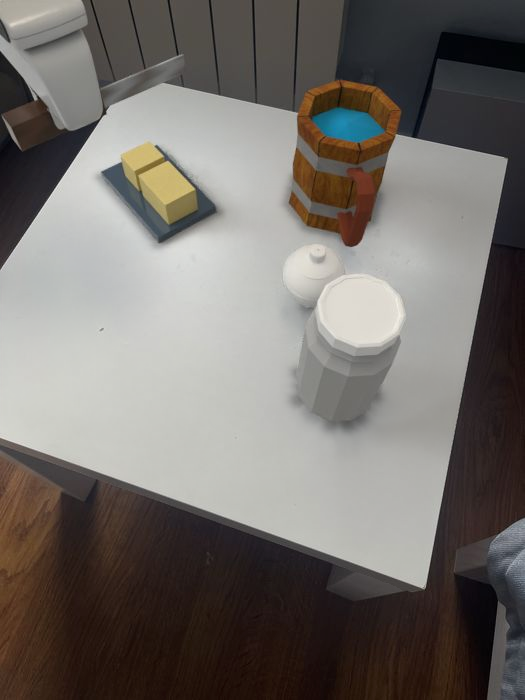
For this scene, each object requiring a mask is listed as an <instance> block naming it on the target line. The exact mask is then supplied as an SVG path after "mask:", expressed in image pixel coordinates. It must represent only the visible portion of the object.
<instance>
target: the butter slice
mask: <svg viewBox="0 0 525 700" xmlns="http://www.w3.org/2000/svg"><path fill="white" fill-rule="evenodd" d="M119 156H120V157H119V158H120V160H121V161H120V162H122V165H123V168H124V172H125V176H126V177H127V178H128V179H129V181H130V182H131V183H132V184H133V185H134V186H135V187H136V188H137V190H138V191H142V189H141V185H140V180H139V176H138V175H140V174H142V173H144V172H146V171H148V170H150V169H152V168H154V167H156V166H158V165H160V164H162V163H164V162H165V159H164V156H163V155H162V154H161V153H160V152H159V151H158V150H157V149H156V147H155V145H154V144H153V143H152V142H151V141H150V140H149V141H146V142H144V143H143V144H140V145H138V146H136V147H134V148H133V149H129V150H128V151H126V152H123V153H121V154H120V155H119Z"/></svg>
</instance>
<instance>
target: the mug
mask: <svg viewBox="0 0 525 700" xmlns="http://www.w3.org/2000/svg"><path fill="white" fill-rule="evenodd" d="M401 114H402V109H401V108H400V107H399V105H397V104H396V103H394V101H393V100H392V99H390V97H389V96H388V95H387V94H385V92H384V91H383V90H382V89H380V87H378V86H374V85H369V84H364V83H359V82H355V81H354V82H353V81H348V80H343V79H337V80H334V81H331V82H329V83H326V84H323V85H320V86H317V87H315V88H312V89H308V90H306V91H305V94H304V97H303V99H302V101H301V105H300V108H299V110H298V113H297V115H296V126H297V135H296V144H295V145H296V146H295V152H294V156H293V162H292V186H291V193H290V196H289V200H288V203H289V205H290V206H291V207H292V209H293V210H294V211H295V213H296V214H297V215H298V217H299V218H300V219H301V221H302V222H303V223H304V224H305V225H306V227H309V228H310V227H311V228H314V229H319V230H323V231H327V232H332V233H336V234H340V240H341V241H342V243H343V245H344V246H345V247H347V248H352V247H357V246H358V245H359V244H360V243H362V240H363V239H364V235H365V233H366V230H367V226H368V223H369V222H371V221H372V218H373V213H374V208H375V205H376V200H377V195H378V192H379V190H380V188H381V186H382V183H383V179H384V175H385V170H386V166H387V162H388V157H389V152H390V150H391V148H392V146H393V144H394V141H395V139H396V136H397V131H398V127H399V124H400V119H401Z"/></svg>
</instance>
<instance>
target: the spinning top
mask: <svg viewBox="0 0 525 700" xmlns="http://www.w3.org/2000/svg"><path fill="white" fill-rule="evenodd" d="M281 273H282V274H281V275H282V283H283V286H284V288H285V290H286V292H287V293H288V295H289V296H290V297H291V298H292V299H293V301H295V302H296V303H297V304H299V305H300V306H303V307H305V308H307V309H309V308H315V307H316V306H317V301H318V299H319V298H320V296H321V294H322V292H323V290H324V288H325V286H326V285H327V284H328V283H330V282H332V281H333V280H335V279H337V278H339V277H340V276H342V275H346V268H345V264H344V262H343V260H342V259H341V257H340V256H339V254H337V253H336V251H334V250H333V249H331V248H329V247H328V246H326V245H323V244H320V243H313V244H307V245H303V246H301V247H298V248H297V249H295V250H294V251H293V252H291V254H289V256H288V257H287V259H286V260H285V262H284V263H283V268H282V272H281Z"/></svg>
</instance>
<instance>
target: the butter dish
mask: <svg viewBox="0 0 525 700" xmlns="http://www.w3.org/2000/svg"><path fill="white" fill-rule="evenodd" d="M154 146H155V147H156V149H157V150H158V151H159V152H160V153H161V154H162V155H163V156H164V159H165V162H166V161H169V162H170V163H171V164H172V165H173V166H174V167H175V168H176V169H177V170H178V171H179V172H180V174H181V175H182V176H183V177H184V178H185V179H186V180H187V181H188V182H189V183H190V184H191V185H192V186H193V187H194V188H195V189H196V197H197V206H198V210H196V211H194V212H192V213H191V214H189V215H187V216H185V217H183V218H181V219H179V220H178V221H176V222H174V223H172V224H170V225H169V224H168V223H167V222H166V221H165V220H164V219H163V218H162V217H161V215H160V214H159V213H158V212H157V211H156V210H155V209H154V208H153V206H152V205H151V204H150V203H149V202H148V201H147V200H146V199H145V197H144V196H143V193H142V191H138V190H137V188H136V187H135V186H134V185H133V184H132V183H131V182H130V181H129V179H128V178H127V177H126V176H125V172H124V168H123V165H122V161H120V162H118V163H116V164H113V165H112V166H110V167H107V168H106V169H104V170H101V171H100V174H101V177H102V179H103V180H104V181H105V182H106V183H107V185H108V186H109V188H111V189H112V190H113V192H114V193H115V194H116V195H117V196H118V198H119V199H120V200H121V201H122V202H123V203H124V205H125V206H126V207H127V208H128V209H129V210H130V212H131V213H132V214H133V215H134V217H136V218H137V219H138V221H139V222H140V223H141V224H142V225H143V226H144V227H145V229H146V230H147V231H148V232H149V233H150V235H151V236H152V237H153V238H154V240H156V242H157V243H158V244H160V243H162V242H164V241H166V240H168V239H170V238H171V237H173V236H175V235H177V234H179V233H181V232H182V231H185V230H186V229H188V228H190V227H191V226H194V225H195V224H197V223H199V222H200V221H203V220H205V219H206V218H208V217H210V216H211V215H213V214H215V213H217V206H216V205H215V203H214V202H213V201H212V200H211V199H210V198H209V197H208V196H207V195H206V194H205V193H204V192H203V191H202V190H201V189H200V187H198V186H197V185H196V183H195V182H194V181H192V180H191V178H190V177H189V176H188V175H187V174H186V173H185V172H184V171H183V170H182V169H181V168H180V167H179V166H178V165H177V164H176V163H175V162H174V161H173V160H172V158H170V157H169V156H168V154H167V153H166V152H165V151H164V150H163V149H162V148H161V147H160V146H159V145H158V144H155V145H154Z"/></svg>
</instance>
